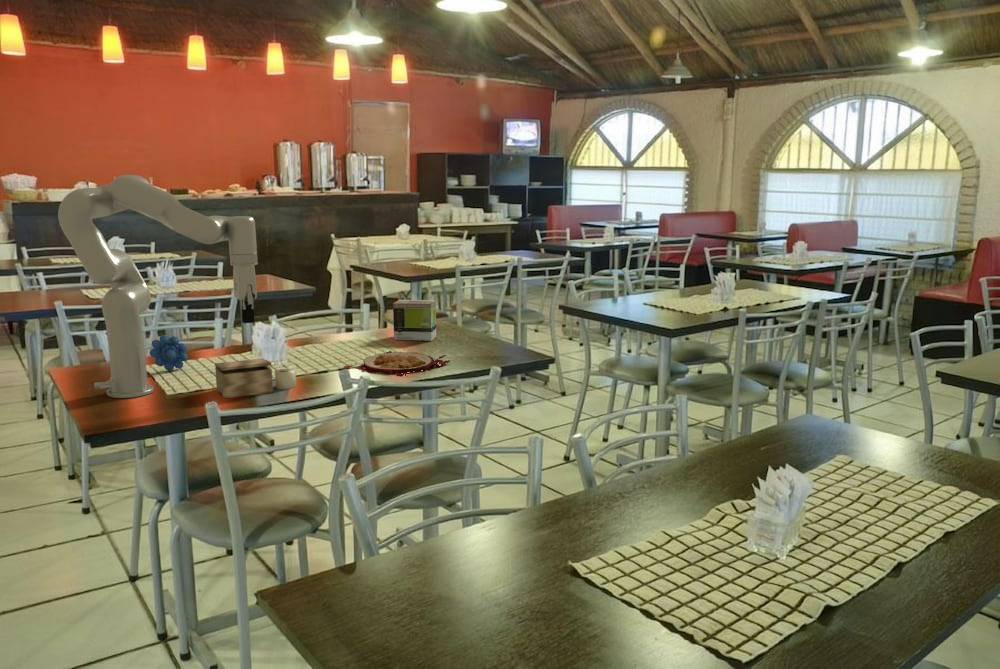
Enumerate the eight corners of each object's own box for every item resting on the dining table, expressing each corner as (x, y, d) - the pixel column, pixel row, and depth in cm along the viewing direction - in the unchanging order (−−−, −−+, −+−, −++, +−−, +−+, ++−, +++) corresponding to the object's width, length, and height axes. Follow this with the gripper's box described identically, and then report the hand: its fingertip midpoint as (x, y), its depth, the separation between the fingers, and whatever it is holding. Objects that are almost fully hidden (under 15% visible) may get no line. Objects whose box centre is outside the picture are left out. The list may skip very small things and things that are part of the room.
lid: (222, 370, 233) (221, 367, 233) (215, 365, 243) (215, 363, 243) (271, 365, 240) (271, 362, 240) (262, 360, 250) (262, 358, 249)
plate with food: (390, 356, 292) (389, 346, 291) (450, 364, 278) (450, 354, 277) (342, 371, 272) (341, 360, 271) (404, 380, 258) (404, 369, 257)
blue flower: (154, 375, 259) (151, 338, 257) (149, 371, 265) (146, 335, 263) (192, 371, 266) (189, 334, 263) (187, 366, 271) (184, 331, 269)
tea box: (436, 336, 323) (436, 299, 320) (431, 341, 313) (431, 303, 310) (399, 335, 325) (399, 298, 322) (393, 340, 315) (392, 302, 312)
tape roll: (278, 390, 244) (277, 373, 243) (273, 385, 249) (272, 369, 248) (298, 387, 247) (297, 371, 246) (293, 383, 252) (292, 367, 251)
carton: (223, 398, 235) (222, 374, 234) (216, 389, 244) (215, 366, 243) (272, 392, 242) (271, 369, 240) (264, 383, 251) (262, 361, 250)
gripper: (225, 258, 239) (230, 319, 243) (235, 263, 226) (240, 328, 230) (251, 256, 242) (256, 317, 246) (262, 261, 229) (267, 325, 233)
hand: (248, 322), depth 238 cm, fingers closed
